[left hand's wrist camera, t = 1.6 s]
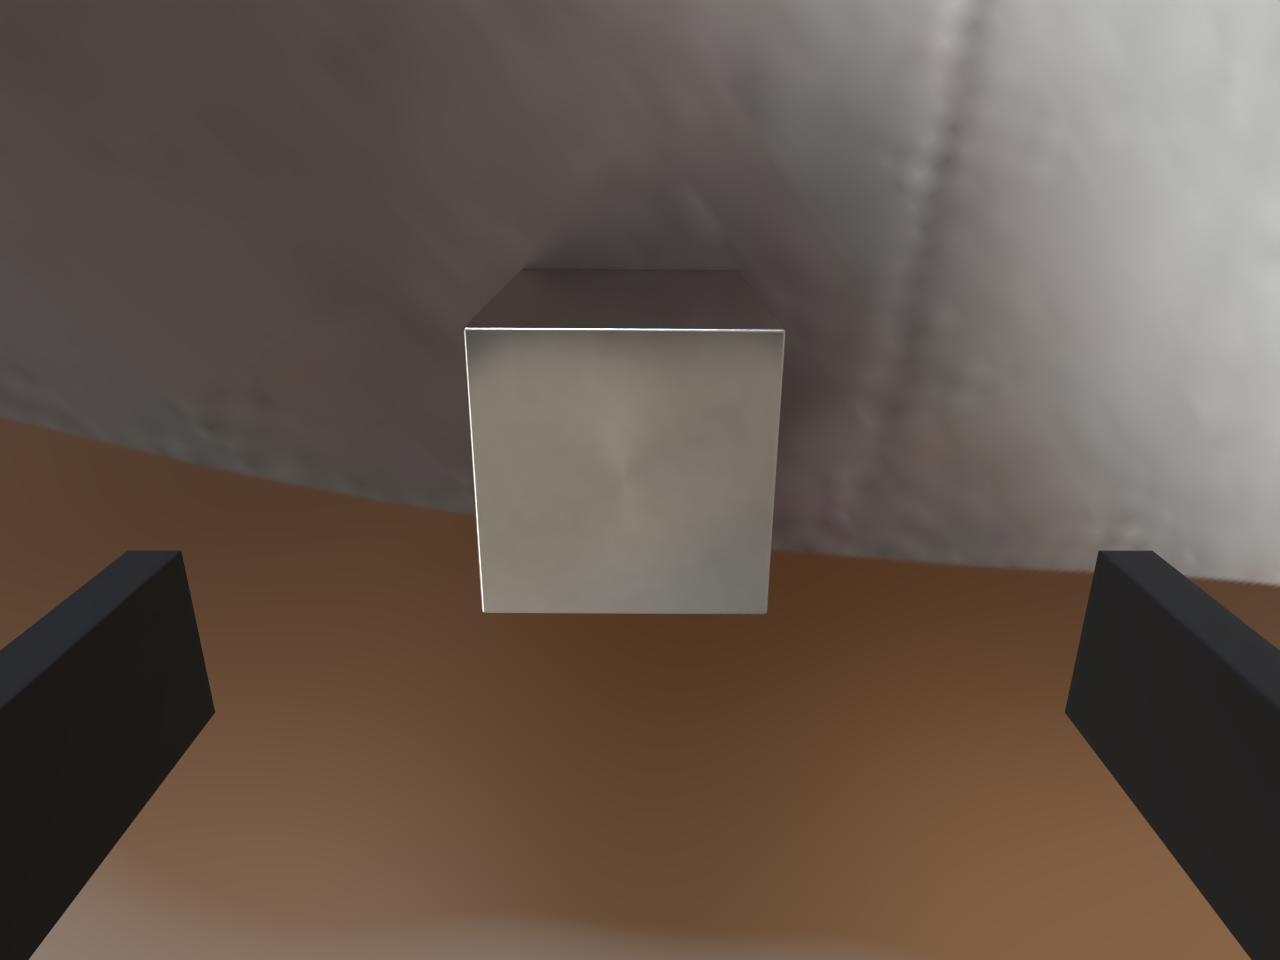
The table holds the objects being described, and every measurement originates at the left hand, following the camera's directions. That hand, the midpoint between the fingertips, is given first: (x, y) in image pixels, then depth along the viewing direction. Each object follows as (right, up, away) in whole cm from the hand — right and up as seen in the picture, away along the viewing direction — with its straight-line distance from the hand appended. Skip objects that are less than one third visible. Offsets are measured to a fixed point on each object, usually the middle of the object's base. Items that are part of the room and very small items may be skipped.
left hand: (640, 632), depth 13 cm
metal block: (0, +6, +18) cm, 19 cm away
